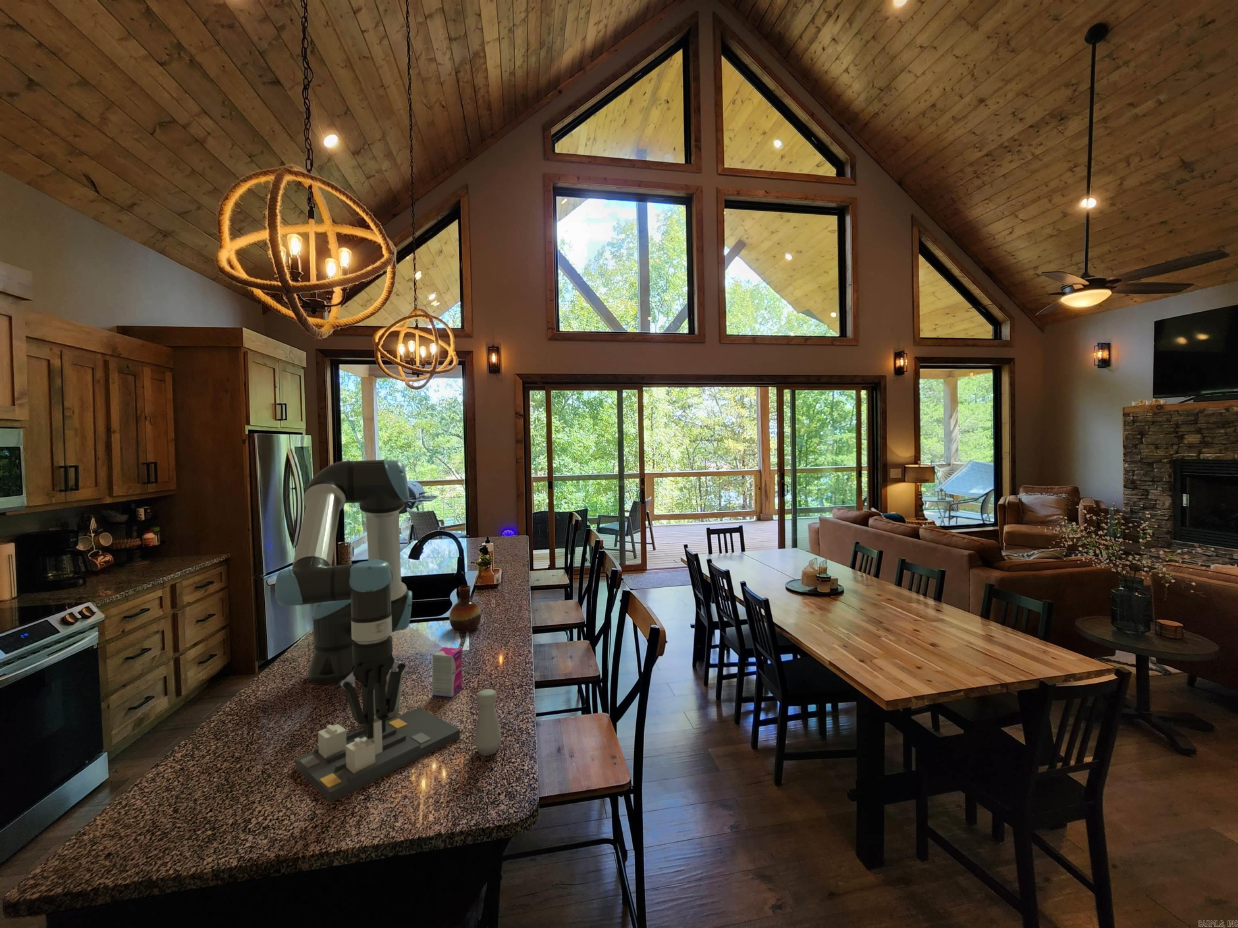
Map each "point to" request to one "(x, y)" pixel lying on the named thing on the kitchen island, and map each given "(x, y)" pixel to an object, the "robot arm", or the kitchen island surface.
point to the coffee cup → (396, 700)
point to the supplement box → (447, 672)
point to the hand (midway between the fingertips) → (375, 750)
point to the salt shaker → (487, 723)
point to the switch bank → (399, 748)
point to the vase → (465, 612)
